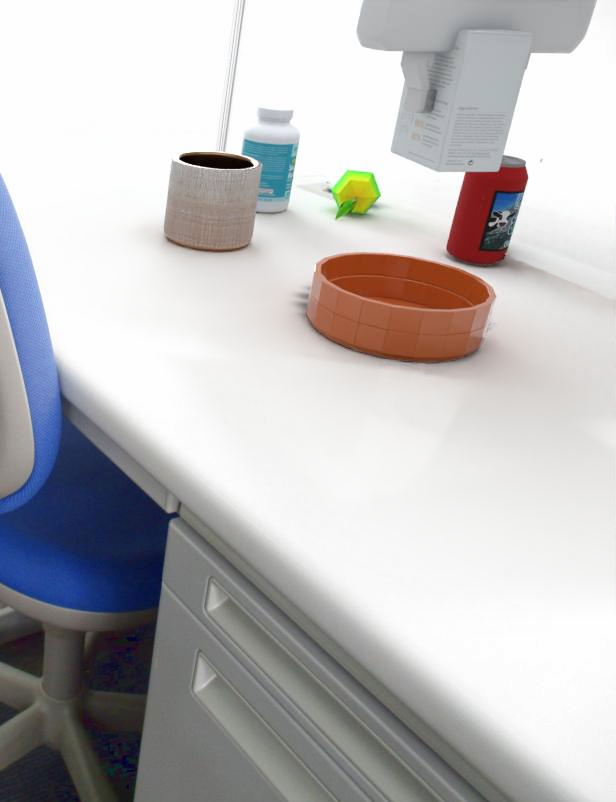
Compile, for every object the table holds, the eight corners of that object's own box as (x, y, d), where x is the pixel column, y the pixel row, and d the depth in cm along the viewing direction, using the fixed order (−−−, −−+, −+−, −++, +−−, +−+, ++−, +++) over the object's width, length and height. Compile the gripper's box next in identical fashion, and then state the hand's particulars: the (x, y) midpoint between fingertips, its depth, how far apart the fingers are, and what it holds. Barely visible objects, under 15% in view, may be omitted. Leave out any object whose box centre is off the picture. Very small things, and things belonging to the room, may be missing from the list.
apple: (359, 154, 121) (362, 166, 113) (389, 188, 122) (393, 202, 114) (318, 189, 125) (318, 203, 117) (347, 221, 126) (349, 238, 118)
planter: (155, 225, 111) (163, 148, 107) (238, 227, 113) (249, 151, 108) (172, 251, 102) (181, 169, 97) (262, 253, 103) (275, 172, 99)
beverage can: (497, 272, 101) (528, 168, 96) (438, 259, 104) (464, 158, 99) (507, 258, 106) (537, 158, 101) (450, 246, 110) (476, 149, 104)
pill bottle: (294, 215, 119) (311, 112, 113) (241, 213, 118) (256, 110, 112) (279, 201, 126) (294, 103, 119) (228, 199, 125) (242, 101, 119)
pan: (403, 292, 93) (414, 247, 91) (519, 353, 80) (536, 302, 78) (274, 305, 88) (282, 257, 86) (375, 373, 75) (388, 319, 72)
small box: (499, 174, 70) (538, 32, 65) (435, 173, 69) (470, 29, 64) (446, 152, 77) (477, 23, 72) (387, 152, 76) (415, 20, 71)
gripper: (417, -92, 59) (374, 120, 65) (635, -75, 65) (577, 116, 72) (359, -91, 64) (325, 106, 70) (566, -74, 71) (518, 103, 77)
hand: (454, 111), depth 71 cm, fingers closed on small box, 6 cm apart
